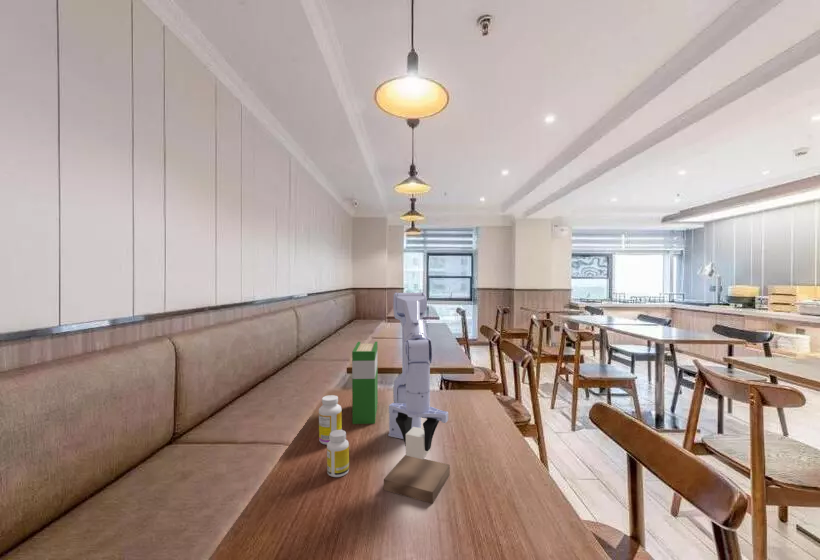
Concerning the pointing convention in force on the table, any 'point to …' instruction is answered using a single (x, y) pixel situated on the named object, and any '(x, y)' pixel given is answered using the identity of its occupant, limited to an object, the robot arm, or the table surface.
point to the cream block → (416, 443)
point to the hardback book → (364, 383)
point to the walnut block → (417, 478)
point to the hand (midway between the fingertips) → (417, 446)
